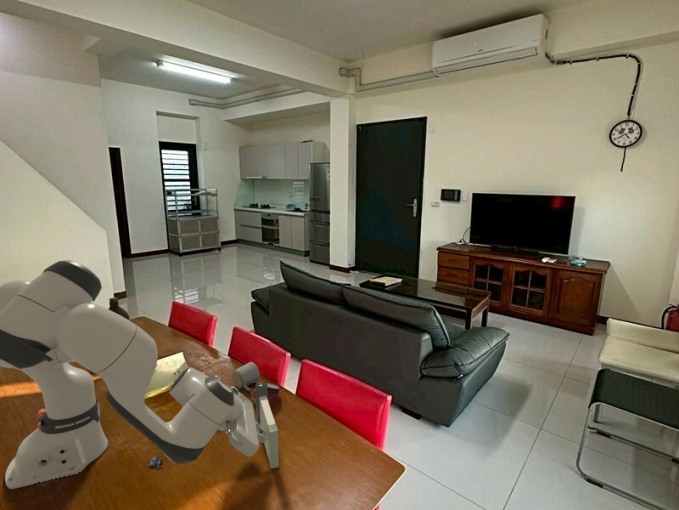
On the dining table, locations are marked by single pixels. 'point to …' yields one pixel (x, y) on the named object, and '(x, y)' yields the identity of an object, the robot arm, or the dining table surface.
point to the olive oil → (117, 308)
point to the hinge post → (260, 391)
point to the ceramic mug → (246, 376)
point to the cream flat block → (269, 432)
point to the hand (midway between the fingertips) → (264, 437)
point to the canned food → (271, 391)
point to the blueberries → (156, 462)
